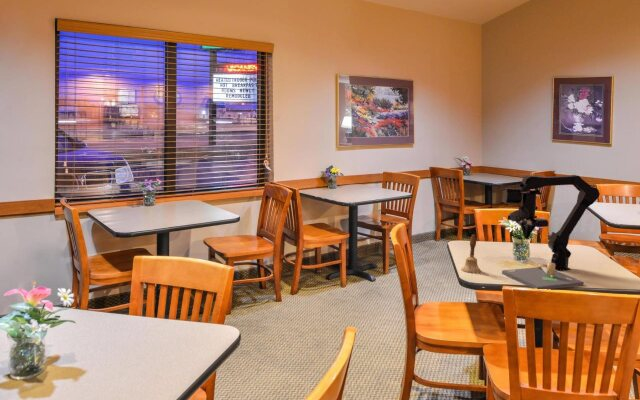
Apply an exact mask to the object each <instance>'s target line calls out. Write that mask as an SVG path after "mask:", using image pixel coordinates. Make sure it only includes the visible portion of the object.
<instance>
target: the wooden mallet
mask: <svg viewBox="0 0 640 400" xmlns="http://www.w3.org/2000/svg"><path fill="white" fill-rule="evenodd" d="M537 267H538V268H541V269H543V271H544V272H545V273H546V275H548V276H550V277H553V276H554V275H555V271H556V269H555V263H551V262H547V264H546V263H538V264H537Z"/></svg>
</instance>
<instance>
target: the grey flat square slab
mask: <svg viewBox="0 0 640 400" xmlns="http://www.w3.org/2000/svg"><path fill="white" fill-rule="evenodd" d="M501 274H502V275H503V276H506V277H507V278H509V279H512V280H514V281H516V282H519V283H520V284H523V285H525V286H527V287H528V288H531V289H533V288H537V289H547V290H553V289H565V288H572V287H573V288H574V287H583V286H584V284H585V283H584V282H585V281H582V280H580V279H578V278H575V277H573V276H569V275H567V274H564V273H562V272H560V271H558V270H555V275H554V276H553V277H550V276H548V275H546V273H545V272H544V271H543V269H541V268H538V266H537V267H536V266H535V267H524V268H516V269H504V270H501Z"/></svg>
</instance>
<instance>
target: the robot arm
mask: <svg viewBox="0 0 640 400" xmlns="http://www.w3.org/2000/svg"><path fill="white" fill-rule="evenodd" d="M568 185H569V186H570V185H573V187H574V188H575V190H577V191H578V195H577V198H576V203H575V204H574V206H573V208H572V209H571V211H570V212H569V214H568V215H567V217H566V219H565V221H564V223H563V224H562V225H561V226H560V227H561V228H559V230H558V231H556V232H554V231H552V232H551V234H550V236H549V237H548V238H547V240H548V241H547V246H548V248H549V249H550V250H551V252H552V255H551V259H550V260H551V261H550V263H555V271H558V272H560V271H569V270H571V268H570V267H569V259H570V258H571V256H572V252H571V251H570V250H569V249H568V248H567V247H568V244H569V239H570V236H571V234H572V233H573V232H574V229H575V228H576V226H577V225H578V223H579V222H580V220H581V219H582V216H583V215H584V213H585V211H586V210H587V209H588V208H589V207H590V206H591V205H593V204H594V203H595V202H596V201H597V199H599V197H600V190H599V189H598V188H597V187H595V186H592V185H591V184H590V183H588V182H587V181H585V180H584V179H583V178H582V177H581V176H580V175H576V174H572V175H557V176H554V175H553V176H540V175H533V174H527V175H524V177H523V178H522V180H521V183H520V184H518V186H517V187H516V188H510V187H506V188H505V191H504V194H503V202H504V204H509V205H511V204H512V205H513V204H514V205H517V204H520V203H521V205H519V206H518V209H516V210H514V211H512V212H510V213H509V214H508V215H507V220H509V221H511V222H515V223H516V224H517V225H519V226H520V227H521V230H522V234H523V238H524V240H528V239H529V237H530V236H531V234H532V232H533V231H534V229H536V228H543V227H549V220H548V219H546V218H538V216H537V215H536V210H538V209H539V208H538V206H537V196H538V195H543V193H542V192H541V191H540V190H539V189H541V188H544V187H548V186H549V187H552V186H568Z"/></svg>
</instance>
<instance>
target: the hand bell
mask: <svg viewBox="0 0 640 400" xmlns="http://www.w3.org/2000/svg"><path fill="white" fill-rule="evenodd" d="M476 245H477V238H476V234H471V237H470V240H469V246H470V252H469V256H467V257H466V258H465V263H464V265H463V266H461V268H460V270H461V271H462V272H465V273H470V274H479V273H481V271H482V270H481V269H480V267H479V266H478V259H477V258H476V257H475V247H476Z"/></svg>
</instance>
